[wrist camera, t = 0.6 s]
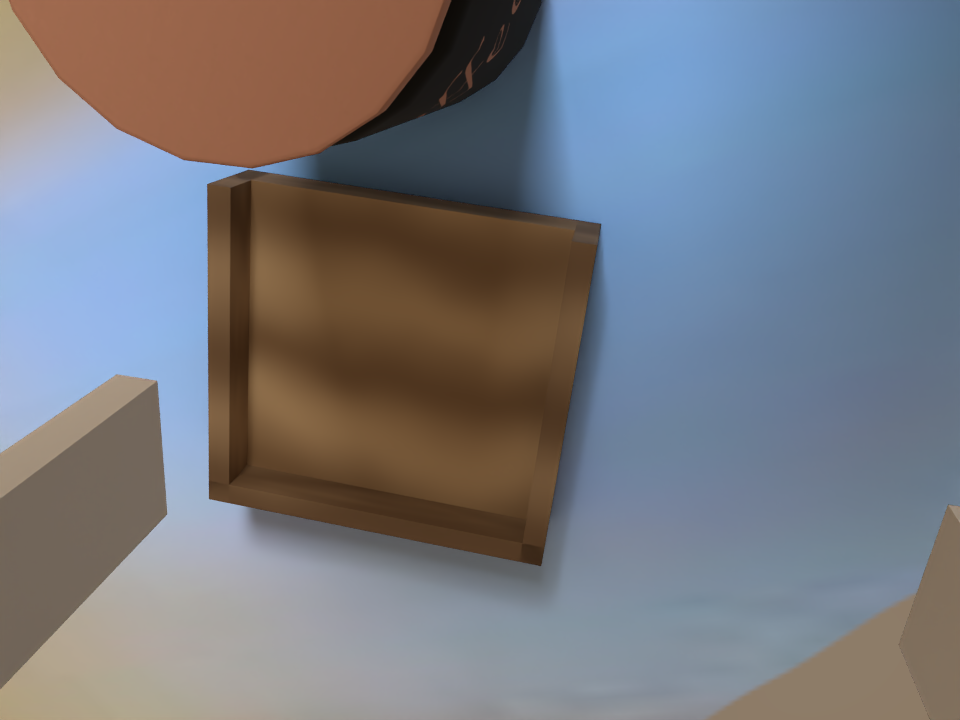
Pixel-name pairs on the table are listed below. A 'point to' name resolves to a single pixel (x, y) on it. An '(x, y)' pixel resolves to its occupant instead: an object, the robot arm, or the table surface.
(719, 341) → the table surface
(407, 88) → the coffee jar
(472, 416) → the brown shallow square tray
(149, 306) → the table surface
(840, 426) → the table surface
